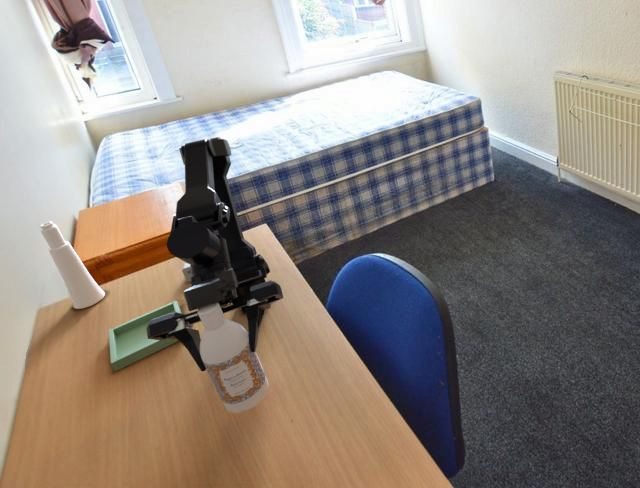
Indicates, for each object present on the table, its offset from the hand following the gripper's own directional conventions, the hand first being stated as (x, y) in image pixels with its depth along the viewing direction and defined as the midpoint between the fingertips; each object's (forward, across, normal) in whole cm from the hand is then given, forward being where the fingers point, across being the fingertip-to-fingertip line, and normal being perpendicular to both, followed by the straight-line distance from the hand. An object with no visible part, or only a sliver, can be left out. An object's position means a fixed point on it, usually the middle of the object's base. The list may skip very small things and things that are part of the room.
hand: (229, 361), depth 76 cm
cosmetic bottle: (-31, -37, +49) cm, 69 cm away
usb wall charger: (-29, -14, +48) cm, 58 cm away
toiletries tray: (-14, -21, +32) cm, 41 cm away
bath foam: (+6, 0, +8) cm, 10 cm away
